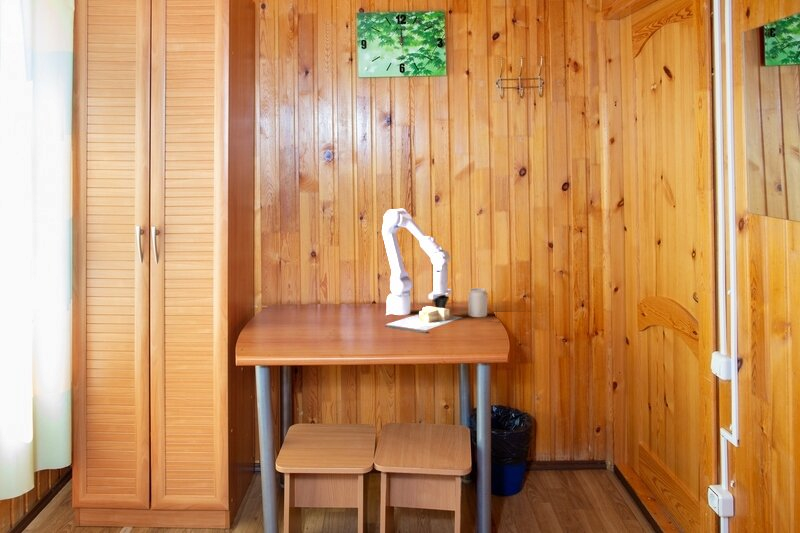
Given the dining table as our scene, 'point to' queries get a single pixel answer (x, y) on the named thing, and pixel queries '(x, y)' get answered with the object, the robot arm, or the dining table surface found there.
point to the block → (433, 314)
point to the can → (478, 302)
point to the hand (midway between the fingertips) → (440, 314)
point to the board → (419, 323)
